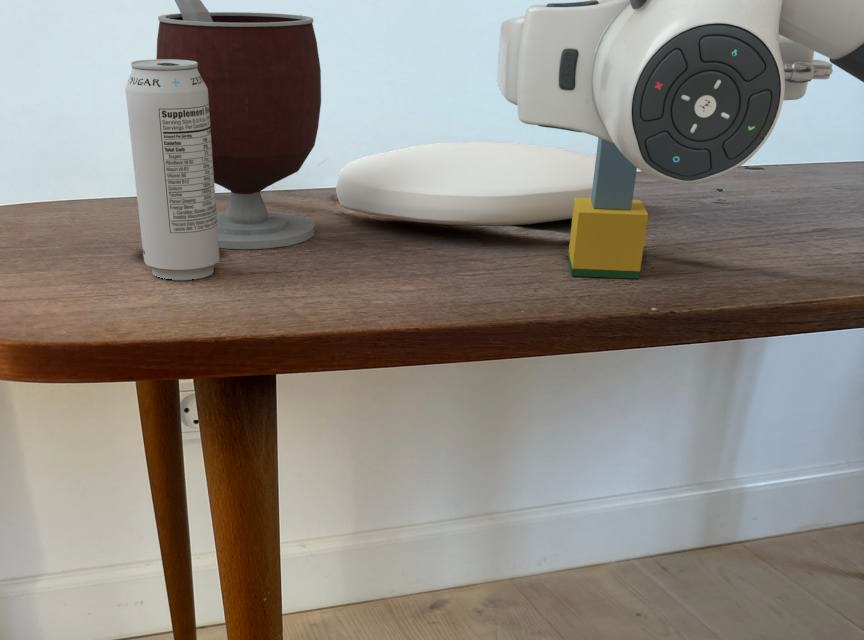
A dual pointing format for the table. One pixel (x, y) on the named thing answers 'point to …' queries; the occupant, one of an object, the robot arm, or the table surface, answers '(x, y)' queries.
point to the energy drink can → (173, 167)
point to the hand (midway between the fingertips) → (640, 48)
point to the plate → (468, 183)
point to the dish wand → (608, 221)
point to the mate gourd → (252, 109)
